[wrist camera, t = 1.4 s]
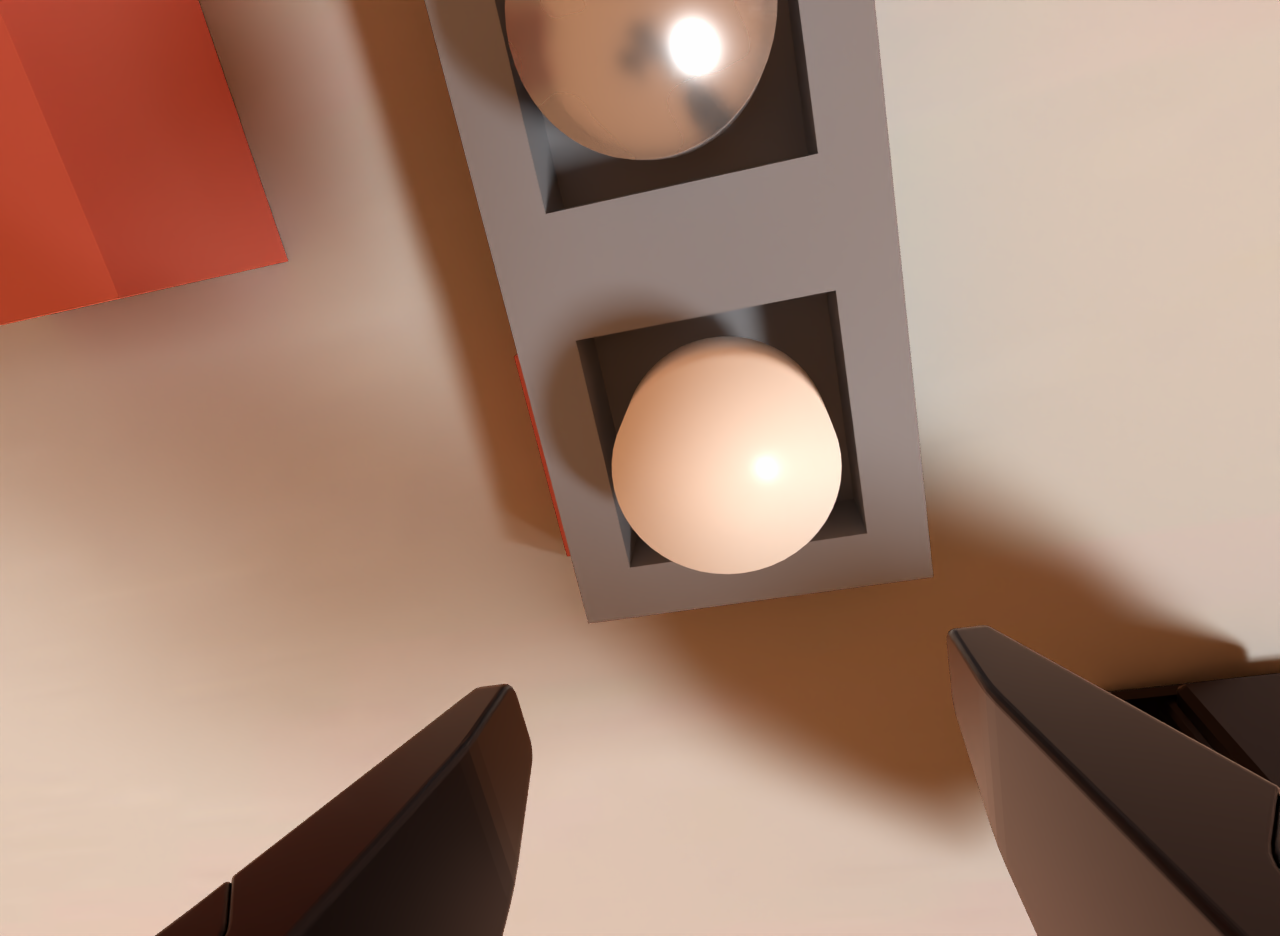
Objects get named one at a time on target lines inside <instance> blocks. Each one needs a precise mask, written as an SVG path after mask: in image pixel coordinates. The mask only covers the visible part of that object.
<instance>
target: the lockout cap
mask: <svg viewBox="0 0 1280 936" xmlns="http://www.w3.org/2000/svg"><path fill="white" fill-rule="evenodd" d="M287 261H288V259H287V256H286V254H285V251H284V248H283V245H282V242H281V239H280V236H279V233H278V230H277V227H276V224H275V222H274V219H273V216H272V213H271V210H270V207H269V204H268V201H267V198H266V195H265V193H264V190H263V187H262V184H261V181H260V178H259V175H258V172H257V169H256V166H255V163H254V161H253V158H252V155H251V152H250V149H249V146H248V143H247V140H246V137H245V134H244V132H243V129H242V126H241V123H240V120H239V117H238V114H237V111H236V108H235V105H234V102H233V100H232V97H231V94H230V91H229V88H228V85H227V82H226V79H225V76H224V73H223V71H222V68H221V65H220V62H219V59H218V56H217V53H216V50H215V47H214V44H213V41H212V39H211V36H210V33H209V30H208V27H207V24H206V21H205V18H204V15H203V12H202V10H201V7H200V4H199V1H198V0H0V325H5V324H9V323H14V322H18V321H23V320H27V319H32V318H37V317H41V316H46V315H50V314H55V313H59V312H63V311H68V310H72V309H77V308H81V307H86V306H90V305H95V304H99V303H104V302H108V301H113V300H117V299H122V298H126V297H130V296H135V295H139V294H144V293H148V292H153V291H157V290H162V289H166V288H171V287H175V286H180V285H184V284H189V283H193V282H197V281H202V280H206V279H211V278H215V277H220V276H224V275H229V274H233V273H238V272H242V271H247V270H251V269H256V268H260V267H264V266H269V265H273V264H278V263H282V262H287Z"/></svg>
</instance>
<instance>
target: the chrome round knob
mask: <svg viewBox="0 0 1280 936" xmlns="http://www.w3.org/2000/svg"><path fill="white" fill-rule="evenodd" d="M505 20H506V31H507V36H508V42H509V47H510V51H511V54H512V57H513V61H514V64H515V67H516V69H517V71H518V74H519V76H520V78H521V81H522V83H523V85H524V87H525V88H526V90H527V92H528V93H529V95H530V97H531V99H532V100H533V101H534V103H535V104H536V105H537V107H538V108H539V109H540V111H541V112H542V113H543V114H544V115H545V117H546V118H547V119H548V120H549V121H550V122H551V123H552V124H553V125H554V126H555V127H556V128H558V129H559V130H560V131H561V132H563V133H564V134H565V135H566V136H568V137H569V138H571V139H572V140H574V141H576V142H577V143H579V144H581V145H582V146H584V147H586V148H589V149H591V150H594V151H596V152H598V153H601V154H605V155H608V156H612V157H616V158H624V159H632V160H663V159H669V158H675V157H678V156H681V155H685V154H688V153H690V152H692V151H695V150H697V149H699V148H701V147H703V146H705V145H706V144H708V143H709V142H711V141H712V140H714V139H715V138H717V137H718V136H719V135H720V134H721V133H723V132H724V131H725V130H726V129H727V128H728V127H729V126H730V125H731V124H732V123H733V122H734V121H735V120H736V119H737V118H738V117H739V115H740V114H741V112H742V111H743V110H744V108H745V107H746V106H747V104H748V102H749V101H750V99H751V97H752V95H753V93H754V92H755V90H756V88H757V85H758V83H759V80H760V78H761V76H762V73H763V71H764V68H765V65H766V63H767V60H768V57H769V54H770V50H771V47H772V43H773V40H774V33H775V27H776V21H777V0H505Z"/></svg>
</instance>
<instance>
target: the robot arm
mask: <svg viewBox="0 0 1280 936" xmlns="http://www.w3.org/2000/svg"><path fill="white" fill-rule="evenodd" d="M947 649H948V660H949V670H950V680H951V690H952V699H953V704H954V709H955V713H956V717H957V720H958V723H959V726H960V730H961V733H962V736H963V739H964V742H965V746H966V749H967V752H968V755H969V758H970V761H971V765H972V768H973V771H974V774H975V777H976V781H977V784H978V787H979V790H980V793H981V797H982V800H983V803H984V806H985V809H986V812H987V816H988V819H989V822H990V825H991V828H992V831H993V834H994V836H995V839H996V842H997V845H998V848H999V850H1000V853H1001V855H1002V857H1003V860H1004V862H1005V865H1006V867H1007V869H1008V872H1009V874H1010V876H1011V878H1012V880H1013V883H1014V885H1015V887H1016V889H1017V891H1018V894H1019V896H1020V898H1021V900H1022V902H1023V905H1024V907H1025V909H1026V911H1027V914H1028V916H1029V918H1030V920H1031V922H1032V925H1033V927H1034V929H1035V931H1036V933H1037V936H1280V673H1277V674H1268V675H1258V676H1249V677H1240V678H1231V679H1221V680H1212V681H1203V682H1194V683H1186V684H1176V685H1167V686H1158V687H1149V688H1139V689H1130V690H1121V691H1112V692H1107V691H1105V690H1104V689H1102V688H1100V687H1098V686H1096V685H1095V684H1093V683H1091V682H1089V681H1087V680H1086V679H1084V678H1082V677H1080V676H1078V675H1076V674H1075V673H1073V672H1071V671H1069V670H1067V669H1066V668H1064V667H1062V666H1060V665H1058V664H1057V663H1055V662H1053V661H1051V660H1049V659H1048V658H1046V657H1044V656H1042V655H1040V654H1039V653H1037V652H1035V651H1033V650H1031V649H1030V648H1028V647H1026V646H1024V645H1022V644H1021V643H1019V642H1017V641H1015V640H1013V639H1012V638H1010V637H1008V636H1006V635H1004V634H1002V633H1001V632H999V631H997V630H995V629H993V628H991V627H989V626H985V625H981V626H973V627H965V628H957V629H952V630H950V631H949V633H948V635H947ZM531 767H532V746H531V741H530V737H529V734H528V731H527V727H526V724H525V721H524V718H523V714H522V711H521V708H520V704H519V701H518V698H517V695H516V693H515V691H514V689H513V688H512V687H511V686H510V685H508V684H500V685H492V686H484V687H479V688H476V689H474V690H473V691H472V692H470V693H469V694H468V695H466V696H465V697H464V698H462V699H461V700H460V701H459V702H457V703H456V704H455V705H453V706H452V707H451V708H450V709H448V710H447V711H446V712H444V713H443V714H442V715H441V716H439V717H438V718H437V719H435V720H434V721H433V722H432V723H430V724H429V725H428V726H426V727H425V728H424V729H422V730H421V731H420V732H419V733H417V734H416V735H415V736H413V737H412V738H411V739H410V740H408V741H407V742H406V743H404V744H403V745H402V746H401V747H399V748H398V749H397V750H395V751H394V752H393V753H392V754H390V755H389V756H388V757H386V758H385V759H384V760H382V761H381V762H380V763H379V764H377V765H376V766H375V767H373V768H372V769H371V770H370V771H368V772H367V773H366V774H364V775H363V776H362V777H361V778H359V779H358V780H357V781H355V782H354V783H353V784H352V785H350V786H349V787H348V788H346V789H345V790H344V791H342V792H341V793H340V794H339V795H337V796H336V797H335V798H333V799H332V800H331V801H330V802H328V803H327V804H326V805H324V806H323V807H322V808H321V809H319V810H318V811H317V812H315V813H314V814H313V815H312V816H310V817H309V818H308V819H306V820H305V821H304V822H303V823H301V824H300V825H299V826H297V827H296V828H295V829H293V830H292V831H291V832H290V833H288V834H287V835H286V836H284V837H283V838H282V839H281V840H279V841H278V842H277V843H275V844H274V845H273V846H272V847H270V848H269V849H268V850H266V851H265V852H264V853H263V854H261V855H260V856H259V857H257V858H256V859H255V860H253V861H252V862H251V863H250V864H248V865H247V866H246V867H244V868H243V869H242V870H241V871H239V872H238V873H237V874H235V875H234V876H233V878H232V882H231V883H230V882H225V883H223V884H222V885H221V886H220V887H218V888H217V889H216V890H214V891H213V892H212V893H211V894H209V895H208V896H207V897H206V898H204V899H203V900H202V901H200V902H199V903H198V904H197V905H195V906H194V907H193V908H191V909H190V910H189V911H187V912H186V913H185V914H183V915H182V916H181V917H179V918H178V919H177V920H175V921H174V922H173V923H171V924H170V925H169V926H167V927H166V928H165V929H163V930H162V931H161V932H159V933H158V934H157V935H155V936H503V932H504V928H505V924H506V920H507V916H508V912H509V908H510V904H511V899H512V895H513V891H514V886H515V880H516V874H517V868H518V862H519V854H520V847H521V840H522V833H523V825H524V818H525V811H526V804H527V796H528V789H529V782H530V774H531Z"/></svg>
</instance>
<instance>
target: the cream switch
mask: <svg viewBox="0 0 1280 936" xmlns="http://www.w3.org/2000/svg"><path fill="white" fill-rule="evenodd" d="M841 470H842V465H841V452H840V448H839V443H838V439H837V436H836V433H835V430H834V428H833V425H832V423H831V420H830V418H829V415H828V413H827V410H826V408H825V405H824V403H823V401H822V398H821V396H820V394H819V392H818V390H817V388H816V386H815V384H814V383H813V381H812V380H811V378H810V377H809V376H808V374H807V373H806V372H805V371H804V370H803V369H802V368H801V367H800V366H799V364H798V363H797V362H795V361H794V360H793V359H791V358H790V357H789V356H788V355H786V354H785V353H783V352H781V351H780V350H778V349H776V348H775V347H772V346H770V345H768V344H765V343H763V342H760V341H756V340H752V339H749V338H742V337H735V336H720V337H712V338H705V339H701V340H698V341H694V342H691V343H689V344H686V345H684V346H681V347H679V348H677V349H676V350H674V351H672V352H670V353H669V354H667V355H666V356H665V357H663V358H662V359H661V360H659V361H658V362H657V363H656V364H655V365H654V366H653V367H652V368H651V369H650V370H649V371H648V372H647V374H646V375H645V376H644V377H643V379H642V380H641V381H640V383H639V385H638V387H637V388H636V390H635V392H634V394H633V397H632V399H631V401H630V404H629V406H628V409H627V411H626V414H625V416H624V419H623V421H622V424H621V426H620V428H619V431H618V433H617V436H616V440H615V444H614V448H613V456H612V479H613V485H614V491H615V494H616V497H617V500H618V503H619V506H620V508H621V510H622V512H623V514H624V516H625V518H626V519H627V521H628V522H629V524H630V526H631V527H632V528H633V530H634V531H635V532H636V533H637V534H638V536H639V537H640V538H641V539H642V540H643V541H644V542H645V543H646V544H648V545H649V546H650V547H651V548H652V549H654V550H655V551H656V552H658V553H659V554H660V555H662V556H664V557H665V558H667V559H669V560H671V561H673V562H675V563H677V564H680V565H682V566H684V567H687V568H690V569H694V570H698V571H701V572H708V573H714V574H737V573H746V572H751V571H756V570H760V569H763V568H766V567H769V566H772V565H774V564H776V563H778V562H780V561H783V560H785V559H786V558H788V557H790V556H791V555H793V554H794V553H796V552H797V551H799V550H800V549H801V548H802V547H803V546H805V545H806V544H807V543H808V542H809V541H810V540H811V539H812V538H813V537H814V536H815V535H816V534H817V533H818V531H819V530H820V529H821V527H822V526H823V524H824V523H825V522H826V520H827V518H828V516H829V514H830V513H831V511H832V509H833V506H834V504H835V501H836V498H837V496H838V491H839V487H840V482H841Z"/></svg>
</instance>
